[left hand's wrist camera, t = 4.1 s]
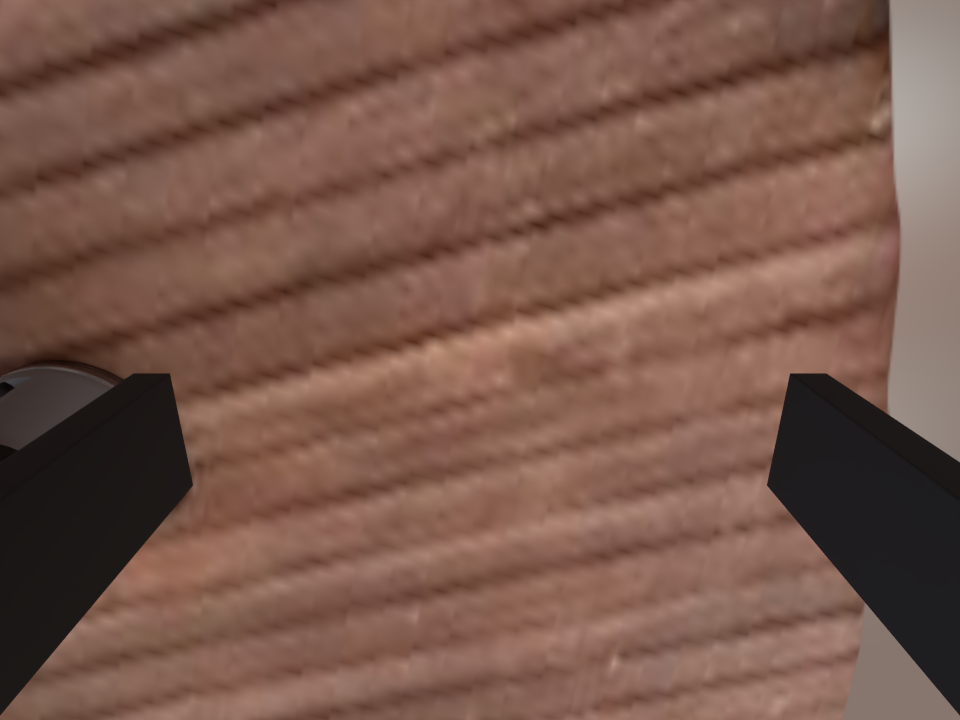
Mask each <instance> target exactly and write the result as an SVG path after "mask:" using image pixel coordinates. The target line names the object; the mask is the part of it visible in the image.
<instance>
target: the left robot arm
mask: <svg viewBox="0 0 960 720" xmlns="http://www.w3.org/2000/svg"><path fill="white" fill-rule="evenodd" d="M192 486H193V483H192V478H191V473H190V469H189V464H188V459H187V454H186V449H185V444H184V440H183V435H182V430H181V425H180V420H179V415H178V411H177V406H176V401H175V396H174V391H173V387H172V382H171V377H170V374H132V375H131V376H129V377H128V378H126V379H125V380H121V379H119V378H118V377H116V376H114V375H112V374H110V373H107V372H105V371H103V370H100V369H97V368H95V367H91V366H88V365H84V364H79V363H74V362H65V361H46V362H38V363H33V364H29V365H26V366H23V367H20V368H18V369H15V370H13V371H11V372H9V373H7V374H5V375H3V376H1V377H0V715H1V714H2V713H3V711H4V710H5V709H6V708H7V707H8V705H9V704H10V703H11V702H12V701H13V699H14V698H15V697H16V696H17V695H18V693H19V692H20V691H21V690H22V689H23V688H24V686H25V685H26V684H27V683H28V682H29V680H30V679H31V678H32V677H33V676H34V674H35V673H36V672H37V671H38V670H39V668H40V667H41V666H42V665H43V664H44V662H45V661H46V660H47V659H48V658H49V656H50V655H51V654H52V653H53V652H54V651H55V649H56V648H57V647H58V646H59V645H60V643H61V642H62V641H63V640H64V639H65V637H66V636H67V635H68V634H69V633H70V631H71V630H72V629H73V628H74V627H75V625H76V624H77V623H78V622H79V621H80V620H81V618H82V617H83V616H84V615H85V614H86V612H87V611H88V610H89V609H90V608H91V606H92V605H93V604H94V603H95V602H96V600H97V599H98V598H99V597H100V596H101V594H102V593H103V592H104V591H105V590H106V588H107V587H108V586H109V585H110V584H111V583H112V581H113V580H114V579H115V578H116V577H117V575H118V574H119V573H120V572H121V571H122V569H123V568H124V567H125V566H126V565H127V563H128V562H129V561H130V560H131V559H132V557H133V556H134V555H135V554H136V553H137V551H138V550H139V549H140V548H141V547H142V546H143V544H144V543H145V542H146V541H147V540H148V538H149V537H150V536H151V535H152V534H153V532H154V531H155V530H156V529H157V528H158V526H159V525H160V524H161V523H162V522H163V520H164V519H165V518H166V517H167V516H168V515H169V513H170V512H171V511H172V510H173V509H174V507H175V506H176V505H177V504H178V503H179V501H180V500H181V499H182V498H183V497H184V495H185V494H186V493H187V492H188V491H189V489H190V488H191V487H192ZM767 486H768V487H769V488H770V489H771V491H772V492H773V493H774V494H775V495H776V497H777V498H778V499H779V500H780V501H781V503H782V504H783V505H784V506H785V507H786V509H787V510H788V511H789V512H790V513H791V515H792V516H793V517H794V518H795V519H796V520H797V522H798V523H799V524H800V525H801V526H802V528H803V529H804V530H805V531H806V532H807V534H808V535H809V536H810V537H811V538H812V540H813V541H814V542H815V543H816V544H817V546H818V547H819V548H820V549H821V550H822V551H823V553H824V554H825V555H826V556H827V557H828V559H829V560H830V561H831V562H832V563H833V565H834V566H835V567H836V568H837V569H838V571H839V572H840V573H841V574H842V575H843V577H844V578H845V579H846V580H847V581H848V583H849V584H850V585H851V586H852V587H853V588H854V590H855V591H856V592H857V593H858V594H859V596H860V597H861V598H862V599H863V600H864V602H865V603H866V604H867V605H868V606H869V608H870V609H871V610H872V611H873V612H874V614H875V615H876V616H877V617H878V618H879V619H880V621H881V622H882V623H883V624H884V625H885V627H886V628H887V629H888V630H889V631H890V633H891V634H892V635H893V636H894V637H895V639H896V640H897V641H898V642H899V643H900V645H901V646H902V647H903V648H904V649H905V651H906V652H907V653H908V654H909V655H910V656H911V658H912V659H913V660H914V661H915V662H916V664H917V665H918V666H919V667H920V668H921V670H922V671H923V672H924V673H925V674H926V676H927V677H928V678H929V679H930V680H931V682H932V683H933V684H934V685H935V686H936V688H937V689H938V690H939V691H940V692H941V693H942V695H943V696H944V697H945V698H946V699H947V701H948V702H949V703H950V704H951V705H952V707H953V708H954V709H955V710H956V711H957V713H958V714H959V715H960V462H958V461H957V460H955V459H954V458H952V457H951V456H949V455H948V454H946V453H945V452H943V451H942V450H940V449H939V448H937V447H936V446H934V445H933V444H931V443H930V442H928V441H927V440H925V439H924V438H922V437H921V436H919V435H918V434H916V433H915V432H913V431H912V430H910V429H909V428H907V427H906V426H904V425H903V424H901V423H900V422H898V421H897V420H895V419H894V418H892V417H891V416H889V415H888V414H886V413H885V412H883V411H882V410H880V409H879V408H877V407H876V406H874V405H873V404H871V403H870V402H868V401H867V400H865V399H864V398H862V397H861V396H859V395H858V394H856V393H855V392H853V391H852V390H850V389H849V388H847V387H846V386H844V385H843V384H841V383H840V382H838V381H837V380H835V379H834V378H832V377H831V376H829V375H828V374H790V377H789V382H788V387H787V391H786V396H785V401H784V406H783V411H782V415H781V420H780V425H779V430H778V435H777V440H776V444H775V449H774V454H773V459H772V464H771V469H770V473H769V478H768V483H767Z"/></svg>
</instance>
